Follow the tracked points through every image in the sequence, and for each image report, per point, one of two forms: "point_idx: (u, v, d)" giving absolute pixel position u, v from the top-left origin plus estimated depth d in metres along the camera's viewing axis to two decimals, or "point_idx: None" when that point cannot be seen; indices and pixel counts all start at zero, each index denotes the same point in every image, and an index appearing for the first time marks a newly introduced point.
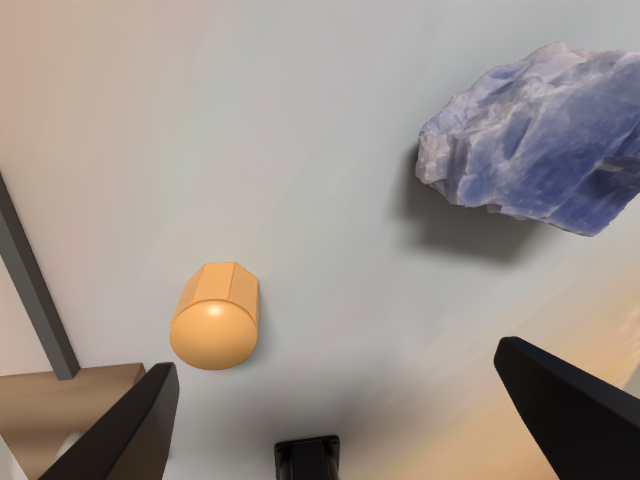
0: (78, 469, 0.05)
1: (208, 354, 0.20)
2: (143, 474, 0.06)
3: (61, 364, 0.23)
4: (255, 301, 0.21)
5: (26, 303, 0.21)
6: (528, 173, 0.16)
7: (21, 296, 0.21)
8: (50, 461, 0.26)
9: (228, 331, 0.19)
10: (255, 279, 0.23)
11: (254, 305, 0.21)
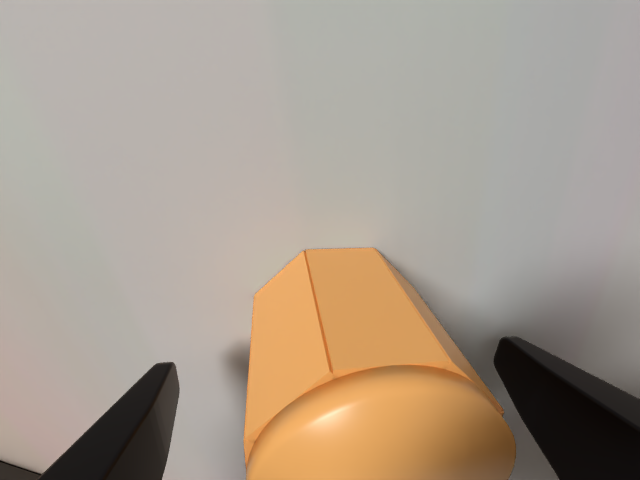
0: (78, 470, 0.05)
1: None
2: (143, 474, 0.06)
3: None
4: (413, 308, 0.07)
5: None
6: None
7: None
8: None
9: (408, 457, 0.05)
10: (372, 253, 0.09)
11: (419, 324, 0.06)
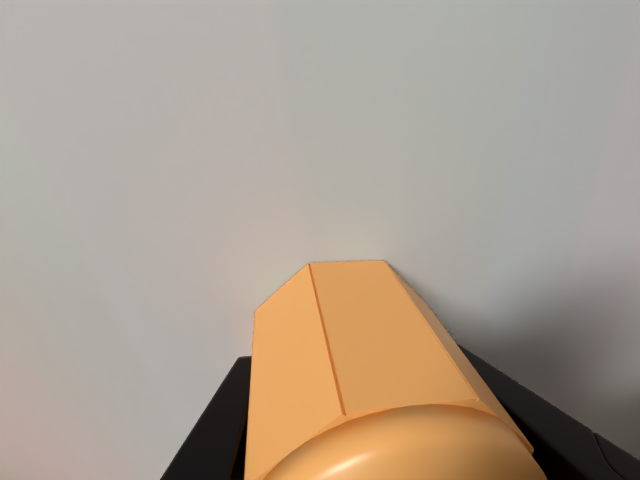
0: (202, 455, 0.06)
1: None
2: None
3: None
4: (430, 333, 0.06)
5: None
6: None
7: None
8: None
9: None
10: (381, 266, 0.08)
11: (440, 352, 0.06)
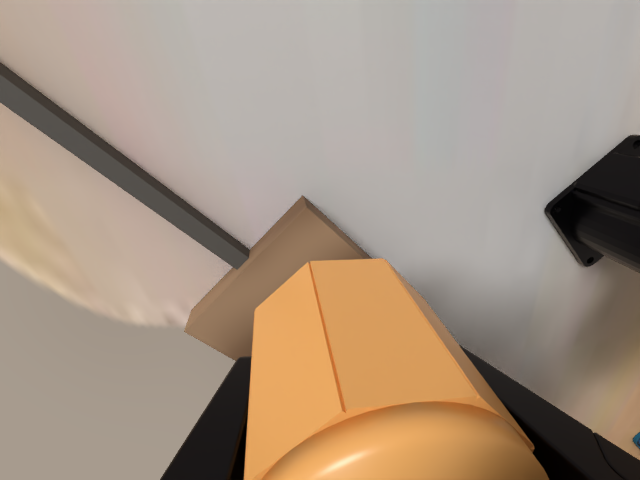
0: (202, 455, 0.06)
1: None
2: None
3: (222, 245, 0.18)
4: (431, 330, 0.06)
5: (125, 185, 0.16)
6: None
7: (113, 180, 0.15)
8: None
9: None
10: (381, 265, 0.08)
11: (440, 350, 0.06)
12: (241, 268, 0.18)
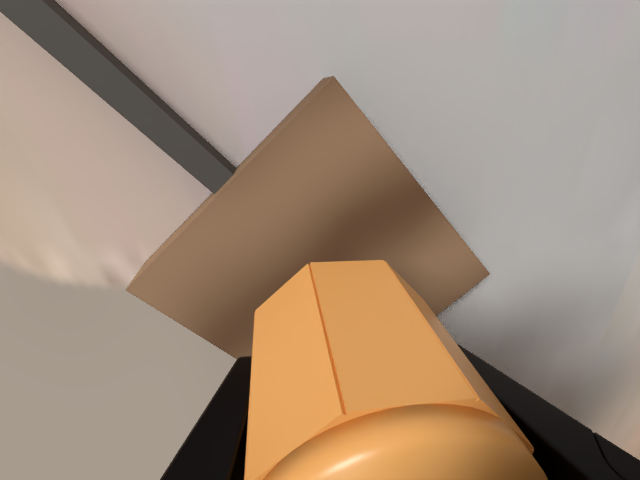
0: (202, 455, 0.06)
1: None
2: None
3: (191, 149, 0.11)
4: (431, 332, 0.06)
5: (13, 12, 0.09)
6: None
7: None
8: None
9: None
10: (382, 266, 0.08)
11: (440, 352, 0.06)
12: (220, 189, 0.11)
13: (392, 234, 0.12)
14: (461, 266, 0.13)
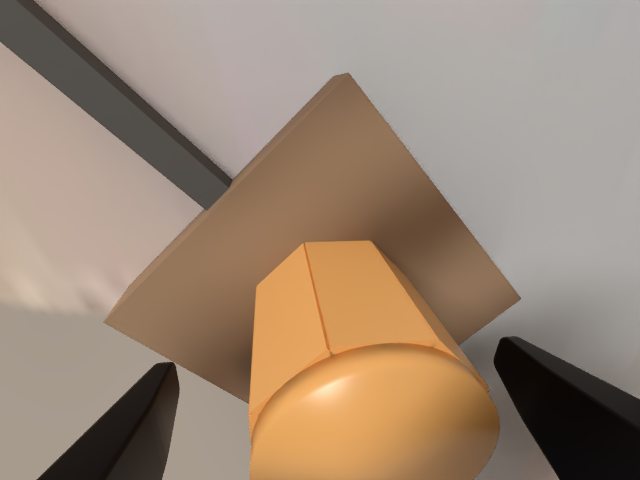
0: (78, 469, 0.05)
1: None
2: (143, 474, 0.06)
3: (179, 159, 0.09)
4: (405, 294, 0.07)
5: None
6: None
7: None
8: None
9: (399, 428, 0.06)
10: (367, 245, 0.10)
11: (410, 308, 0.07)
12: (214, 205, 0.09)
13: (413, 255, 0.10)
14: (489, 290, 0.12)
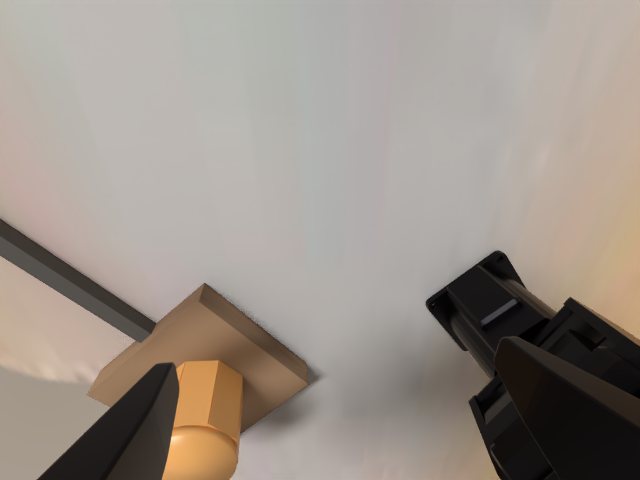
0: (78, 469, 0.05)
1: (198, 479, 0.18)
2: (143, 474, 0.06)
3: (126, 323, 0.20)
4: (212, 399, 0.18)
5: (35, 273, 0.18)
6: None
7: (23, 268, 0.17)
8: None
9: (192, 455, 0.17)
10: (215, 364, 0.20)
11: (208, 407, 0.18)
12: (142, 343, 0.20)
13: (243, 366, 0.21)
14: (289, 380, 0.22)
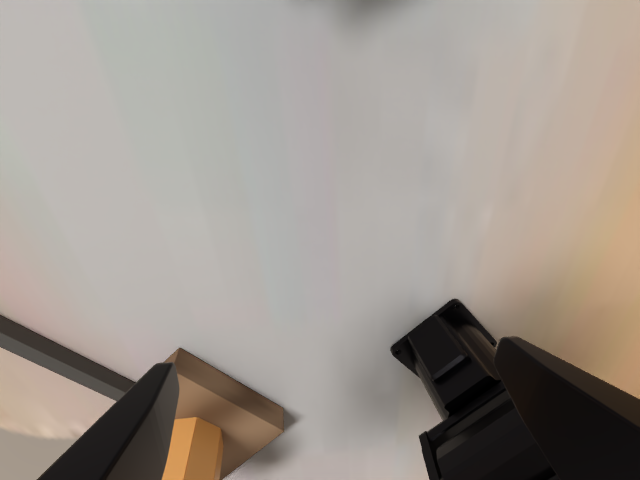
0: (78, 470, 0.05)
1: None
2: (143, 474, 0.06)
3: (110, 389, 0.22)
4: (187, 459, 0.20)
5: (24, 355, 0.20)
6: None
7: (14, 352, 0.20)
8: None
9: None
10: (193, 421, 0.22)
11: (183, 468, 0.20)
12: None
13: (220, 420, 0.23)
14: (265, 429, 0.24)
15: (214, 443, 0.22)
